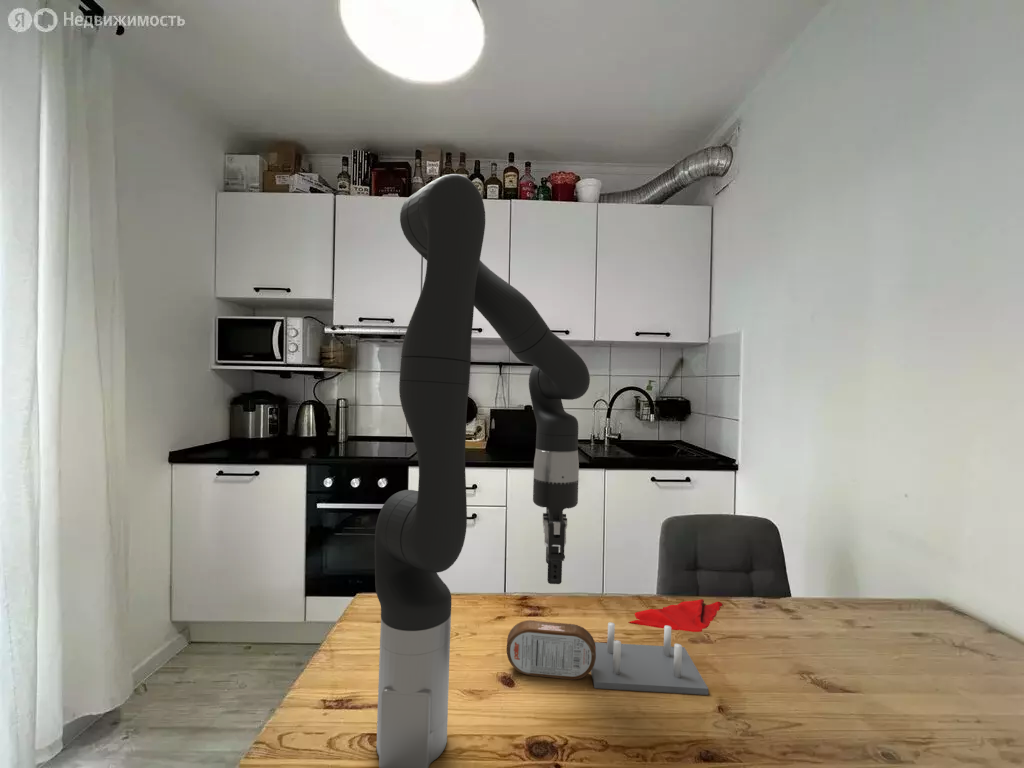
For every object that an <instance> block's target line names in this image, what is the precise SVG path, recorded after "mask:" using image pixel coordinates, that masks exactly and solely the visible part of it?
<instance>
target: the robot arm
mask: <svg viewBox="0 0 1024 768" xmlns="http://www.w3.org/2000/svg"><path fill="white" fill-rule="evenodd" d="M400 209H401V210H400V212H399V223H400V228H401V229H402V233H403V235H404V237H405V239H406V240H407V241H408V243H409V244H410V246H411V247H412V248H413V249H414V250H415V251H416V252H417V253H418V254H419V255H420V256H422V257H423V259H425V261H426V269H425V277H424V283H423V286H422V289H421V292H420V295H419V297H418V301H417V303H416V304H415V308H414V310H413V313H412V315H411V317H410V320H409V323H408V325H407V328H406V331H405V335H404V338H403V341H402V347H401V356H400V357H401V359H400V365H399V366H400V368H399V382H398V383H399V384H398V389H399V390H398V391H399V392H398V393H399V401H400V404H401V409H402V411H403V415H404V418H405V420H406V424H407V427H408V429H409V431H410V434H411V437H412V440H413V445H414V446H415V449H416V450H415V451H416V455H417V459H418V461H417V462H418V463H417V464H418V487H417V488H418V489H417V490H414V489H403V490H400V491H398V492H396V493H394V494H391V496H390V497H389V498H387V500H386V501H385V502H384V504H383V505H382V507H381V509H380V511H379V513H378V517H377V521H376V525H375V532H374V579H375V580H374V583H375V585H374V586H375V594H376V597H377V600H378V602H379V604H380V635H379V637H380V638H379V656H378V657H379V660H378V687H377V688H378V689H377V693H378V694H377V713H376V714H377V715H376V716H377V718H376V719H377V721H376V722H377V723H376V747H375V748H376V753H377V756H378V768H430V765H431V764H432V763H433V762H434V761H435V760H436V759H438V758H439V757H440V756H441V754H442V753H444V752H443V751H444V750H445V748H446V745H447V743H448V722H449V721H448V720H449V719H448V718H449V716H448V715H449V714H448V713H449V687H450V686H449V683H450V678H449V677H450V653H451V652H450V650H451V647H450V646H451V628H452V627H451V626H452V625H451V623H452V593H451V591H450V589H449V587H448V585H446V583H445V582H444V581H443V579H442V578H441V577H440V575H439V573H441V572H445V571H446V570H448V569H450V568H451V567H452V566H453V565H454V564H455V563H456V561H457V560H458V558H459V556H460V554H461V553H462V550H463V547H464V544H465V539H466V534H467V526H468V525H467V524H468V507H467V504H468V503H467V481H466V480H467V479H466V478H467V477H466V441H467V440H466V439H467V438H466V437H467V416H468V413H467V412H468V411H467V410H468V399H469V390H470V380H471V379H470V377H471V361H472V360H471V359H472V336H473V335H472V334H473V325H474V314H475V313H474V312H475V311H474V310H475V309H476V310H477V311H478V312H479V313H480V314H481V315H482V316H483V317H484V318H485V320H486V321H487V322H488V324H489V325H490V326H491V327H492V328H493V330H494V331H495V332H496V333H497V334H498V337H500V339H501V340H502V341H503V342H504V343H505V345H506V346H507V348H508V349H509V350H510V352H511V353H512V354H513V355H514V356H515V357H516V358H517V359H518V360H519V361H520V362H522V363H524V364H529V365H532V367H531V369H530V372H529V375H528V376H529V377H528V388H529V389H528V390H529V394H530V396H529V397H530V400H531V404H532V411H533V414H534V418H535V422H536V434H535V436H536V437H535V439H536V440H535V453H534V459H533V484H532V487H533V488H532V489H533V490H532V501H533V503H534V504H535V505H536V506H538V507H540V508H546V509H545V512H542V527H543V533H544V546H545V547H546V548H545V563H546V564H547V582H548V584H550V585H560V584H561V583H562V582H563V581H562V575H563V573H562V572H563V562H565V559H566V555H565V547H566V546H567V545H566V544H567V528H568V518H567V513H564V510H566V509H573V508H575V507H577V506H578V504H579V503H578V502H579V475H580V474H579V473H580V472H579V471H580V467H579V466H580V464H579V463H580V462H579V451H578V450H579V421H578V419H577V417H576V416H574V415H572V414H570V413H568V412H566V411H565V409H564V405H563V401H562V400H567V401H569V400H570V401H572V400H577V399H580V398H582V397H583V396H584V395H585V394H586V393H587V391H588V390H589V387H590V382H591V376H590V371H589V368H588V367H587V364H586V363H585V361H584V360H583V359H582V357H581V356H580V355H579V354H578V353H577V352H576V351H575V350H574V349H573V348H572V347H570V346H569V345H568V344H567V343H566V342H565V341H563V340H562V339H561V338H560V337H558V335H556V334H555V333H553V331H552V330H551V329H550V327H549V325H548V324H547V323H546V321H545V320H544V318H543V317H542V315H541V314H540V313H539V312H538V309H536V307H535V306H534V305H533V303H532V302H531V301H530V300H529V299H528V297H526V296H525V295H524V294H523V293H522V292H520V291H519V290H518V289H516V288H515V287H514V286H512V285H511V284H510V283H508V282H507V281H506V280H504V279H503V278H501V277H500V276H499V275H498V274H496V273H495V272H494V271H492V270H491V269H490V268H489V267H488V266H487V265H486V264H485V263H484V262H483V261H482V260H481V253H482V249H483V242H484V236H485V231H486V211H485V205H484V201H483V197H482V195H481V193H480V191H479V189H478V187H477V185H475V183H474V182H473V181H471V180H470V179H469V178H468V177H466V176H464V175H462V174H459V173H449V174H446V175H443V176H440V177H437V178H436V179H434V180H432V181H431V182H429V183H427V184H426V185H425V186H423V187H421V188H420V189H419V190H416V191H415V192H414V193H413V194H411V195H410V196H409V197H407V198H406V200H404V202H403V204H402V206H401V208H400Z"/></svg>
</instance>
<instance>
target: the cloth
mask: <svg viewBox="0 0 1024 768" xmlns="http://www.w3.org/2000/svg"><path fill="white" fill-rule="evenodd" d="M704 602H705V600H704V599H702V598H700V599H696V600H685V601H684V600H683V601H681V602H680V603H678V604H670V605H668V606H663V607H662V608H655V609H654V608H650V609H645V610H640V611H637V612H635V613H634V616H635V618H636V619H635V620H631V621H628V623H629V624H631V625H632V624H633V625H637V626H638V625H639V626H645V627H650V628H659V629H664V626H666V625H667V626H670V627H671V631H684V632H692V633H702V632H703V630H705V629H706V628H707V627H709V626H710V624H711V622H713V621H714V618H716V616H717V614H718V612H719V611H720V609H721V607H722V606H723V603H722V602H720V601H715V602H712V603H710V604H704Z"/></svg>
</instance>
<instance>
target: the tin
mask: <svg viewBox="0 0 1024 768" xmlns="http://www.w3.org/2000/svg"><path fill="white" fill-rule="evenodd" d="M506 639H507V640H506V656H507V659H508V661H509V663H510V665H511V666H512V667H513V669H515V670H516V671H517V672H518V673H520V674H522V675H525V676H532V677H541V678H542V677H543V678H552V679H562V680H571V681H573V680H580V679H582V678H585V677H586V676H587V675H589V674H591V670H592V669H593V667H594V664H595V660H596V646H595V642H596V641H595V639H594V637H593V636H592V634H591V633H590V632H589V631H588V630H587V629H586V628H584V627H583V626H581V625H578V624H574V623H573V624H572V623H562V622H553V621H542V620H541V621H540V620H532V619H527V620H523V621H520V622H518V623H516V624H515V625H513V627H511V629H510V631H509V633H508V635H507V638H506Z"/></svg>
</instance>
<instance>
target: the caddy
mask: <svg viewBox="0 0 1024 768" xmlns="http://www.w3.org/2000/svg"><path fill="white" fill-rule="evenodd" d="M615 625H616V624H615V623H614V622H610V621H609V622H608V623H607V640H606V642H599V641H598V642H597V641H594V642H595V646H596V660H595V664H594V667H593V669H592V670H591V671H590V675H591V679H592V682H593V684H592V685H593V687H594V689H601V690H620V691H634V692H635V691H636V692H638V691H639V692H652V693H670V694H682V695H683V694H684V695H685V694H687V695H702V696H709V687H708V685H707V684H706V682H705V680H704V679H703V677H702V674H701V673H700V672H699V670H698V668H697V666H696V665H695V663H694V661H693V659H692V658H691V656H690V654H689V653H688V651H687V649H686V648H685V646H683V645H682V644H680V643H674V644H673V645H674V646H672V630H671V627H670V626H667V625H666V626H664V628H663V631H664V632H663V645H650V644H633V643H632V644H631V643H622V642H621V640H617V639H616V640H615V633H616V628H615V627H616V626H615Z"/></svg>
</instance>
